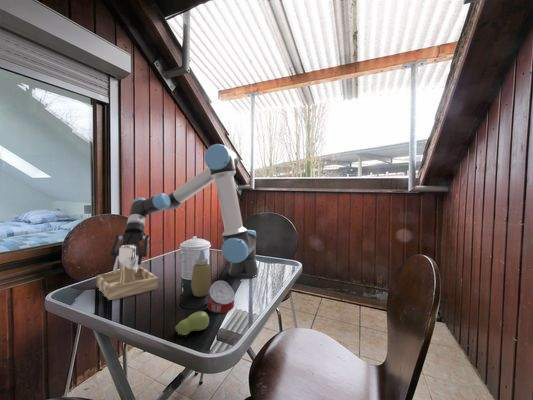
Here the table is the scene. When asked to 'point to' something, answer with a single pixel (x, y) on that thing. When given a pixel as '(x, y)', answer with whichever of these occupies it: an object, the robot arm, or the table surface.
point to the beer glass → (127, 263)
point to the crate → (126, 284)
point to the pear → (193, 323)
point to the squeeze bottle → (201, 276)
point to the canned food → (220, 297)
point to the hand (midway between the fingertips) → (125, 271)
